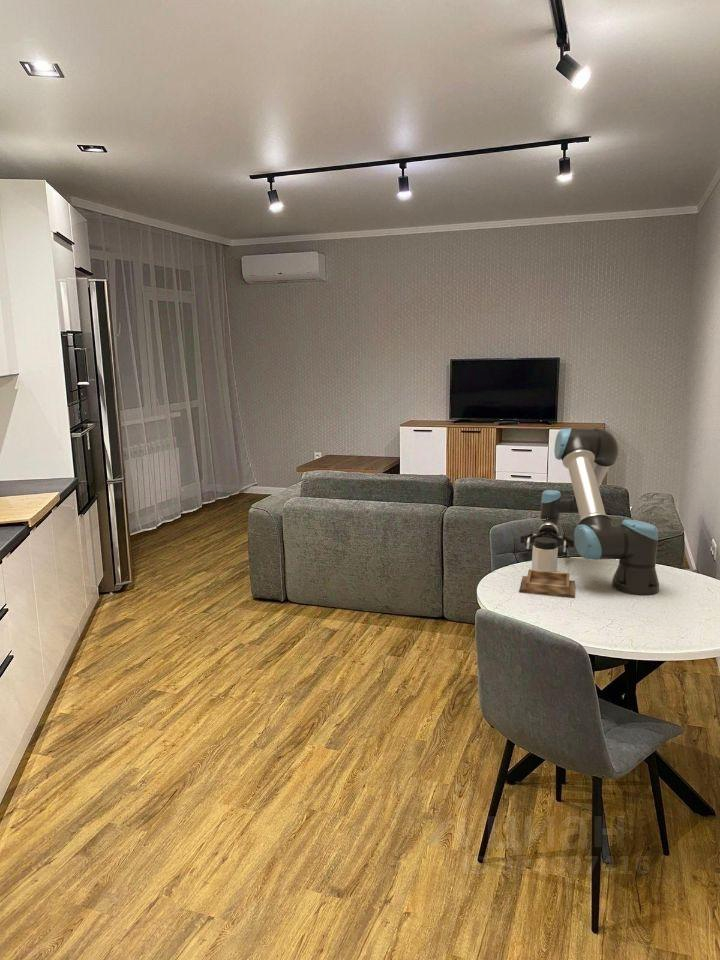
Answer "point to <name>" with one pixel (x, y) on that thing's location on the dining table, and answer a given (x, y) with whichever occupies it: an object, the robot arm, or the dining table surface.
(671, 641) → the dining table surface
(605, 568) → the dining table surface
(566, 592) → the wooden tray
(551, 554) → the jar
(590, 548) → the robot arm
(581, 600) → the dining table surface
